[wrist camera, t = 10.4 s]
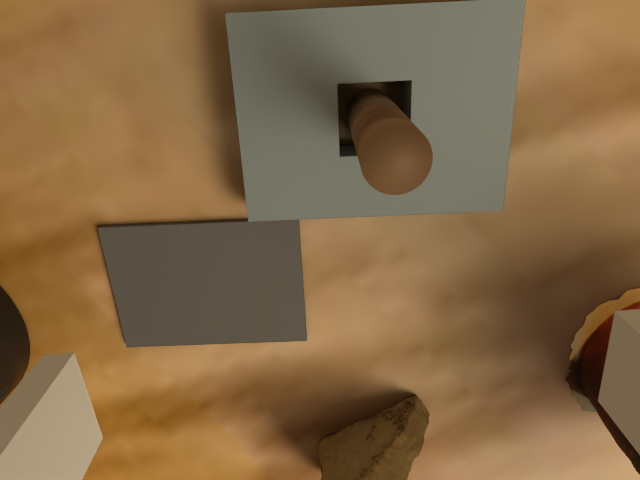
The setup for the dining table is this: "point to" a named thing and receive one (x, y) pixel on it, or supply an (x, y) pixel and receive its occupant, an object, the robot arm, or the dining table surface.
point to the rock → (376, 445)
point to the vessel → (599, 364)
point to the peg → (387, 144)
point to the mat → (207, 282)
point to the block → (374, 66)
